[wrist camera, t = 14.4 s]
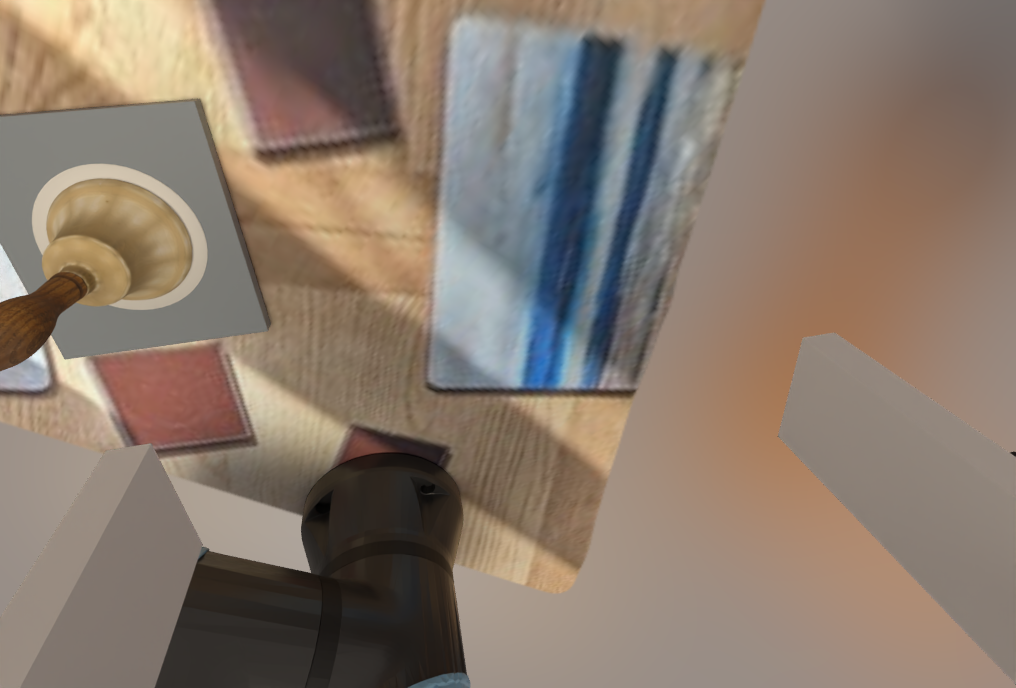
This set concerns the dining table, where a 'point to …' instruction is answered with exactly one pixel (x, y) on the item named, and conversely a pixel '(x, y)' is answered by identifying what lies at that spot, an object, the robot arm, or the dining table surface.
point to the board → (160, 170)
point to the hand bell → (97, 259)
